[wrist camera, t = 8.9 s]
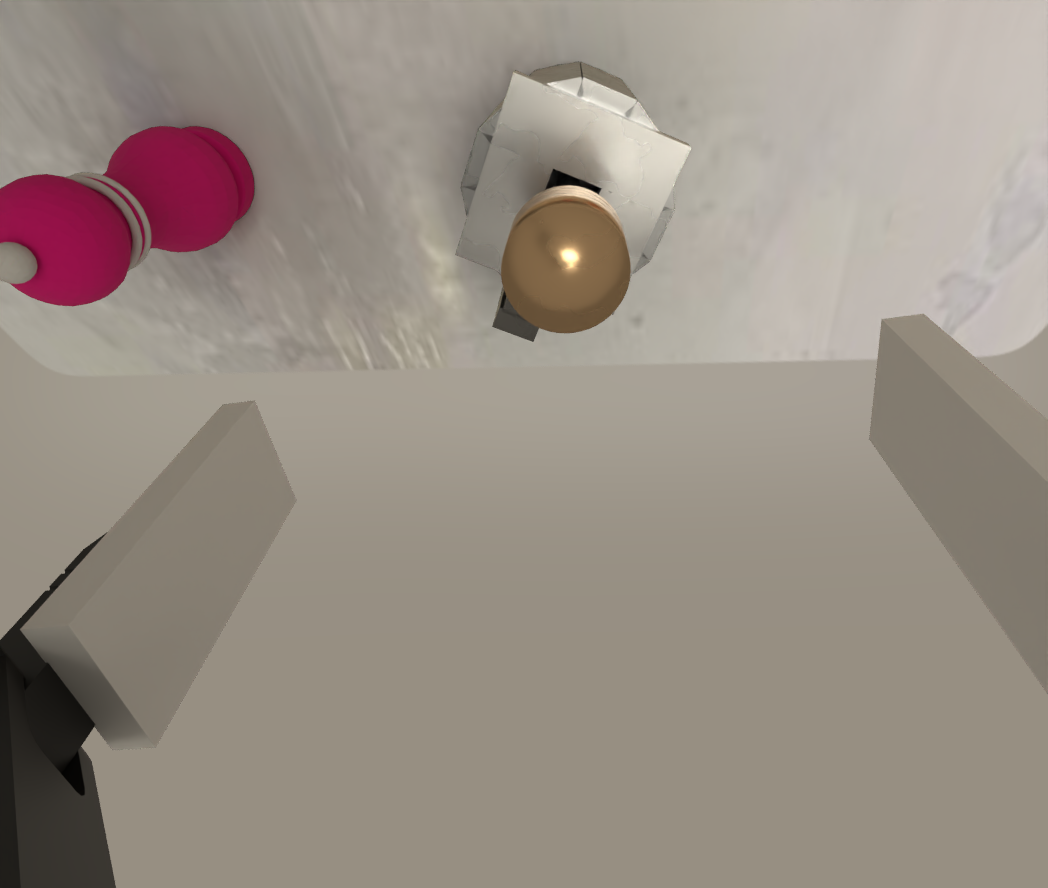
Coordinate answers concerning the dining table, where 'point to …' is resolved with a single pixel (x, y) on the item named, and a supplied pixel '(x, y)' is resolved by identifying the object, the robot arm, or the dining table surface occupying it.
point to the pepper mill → (121, 213)
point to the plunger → (566, 257)
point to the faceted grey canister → (567, 164)
